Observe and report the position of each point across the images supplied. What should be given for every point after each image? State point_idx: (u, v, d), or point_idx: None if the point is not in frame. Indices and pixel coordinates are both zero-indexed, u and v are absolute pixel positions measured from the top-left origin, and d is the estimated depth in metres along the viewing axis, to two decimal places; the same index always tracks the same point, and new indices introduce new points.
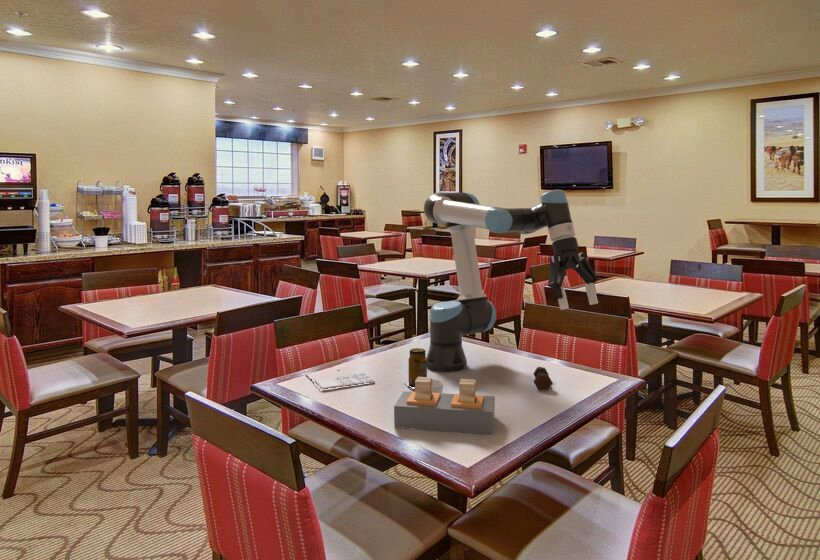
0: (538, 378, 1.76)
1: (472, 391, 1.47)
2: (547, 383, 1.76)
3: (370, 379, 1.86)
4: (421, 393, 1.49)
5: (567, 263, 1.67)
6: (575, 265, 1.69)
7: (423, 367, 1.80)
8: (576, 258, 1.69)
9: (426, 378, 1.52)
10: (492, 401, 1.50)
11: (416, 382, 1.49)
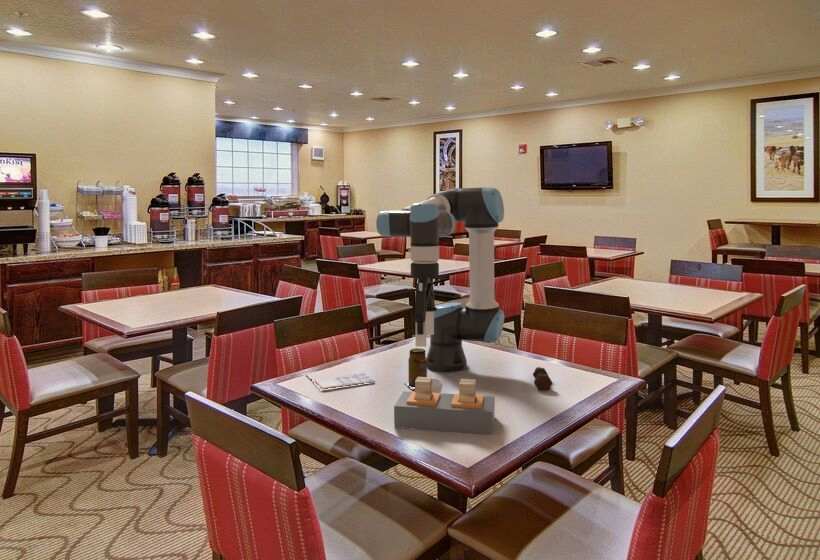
0: (538, 378, 1.76)
1: (472, 391, 1.47)
2: (547, 384, 1.76)
3: (370, 379, 1.86)
4: (421, 393, 1.49)
5: None
6: None
7: (423, 367, 1.80)
8: None
9: (426, 378, 1.52)
10: (492, 401, 1.50)
11: (416, 382, 1.49)
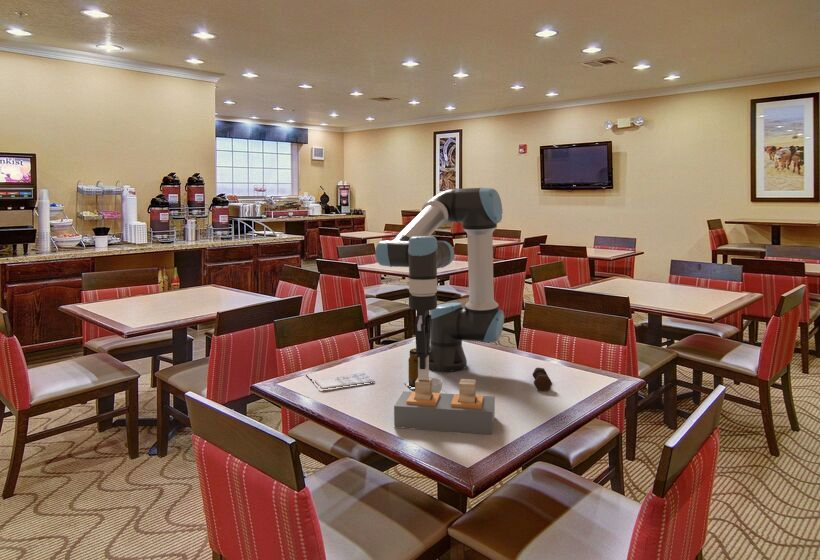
0: (538, 379, 1.75)
1: (472, 391, 1.47)
2: (547, 384, 1.75)
3: (370, 379, 1.86)
4: (421, 394, 1.49)
5: None
6: None
7: None
8: None
9: None
10: (492, 401, 1.50)
11: (416, 383, 1.49)
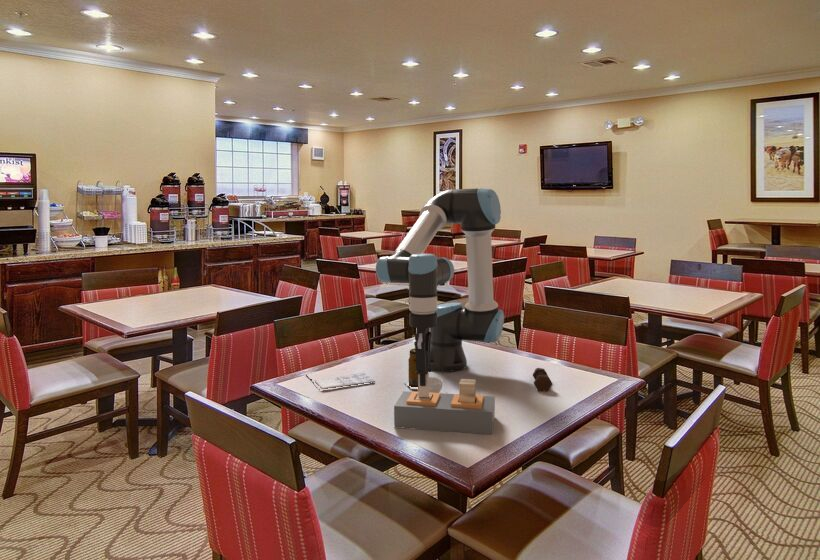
0: (538, 379, 1.75)
1: (472, 391, 1.47)
2: (547, 384, 1.75)
3: (370, 379, 1.86)
4: None
5: None
6: None
7: None
8: None
9: None
10: (492, 401, 1.50)
11: None
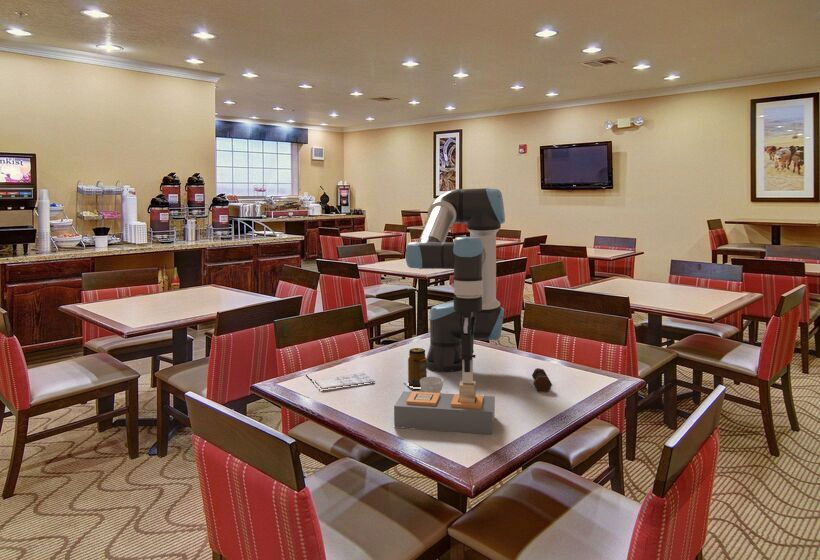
0: (538, 380, 1.75)
1: (472, 393, 1.47)
2: (547, 385, 1.74)
3: (370, 379, 1.86)
4: None
5: None
6: None
7: (422, 367, 1.80)
8: (459, 321, 1.45)
9: (426, 396, 1.52)
10: (492, 401, 1.50)
11: None
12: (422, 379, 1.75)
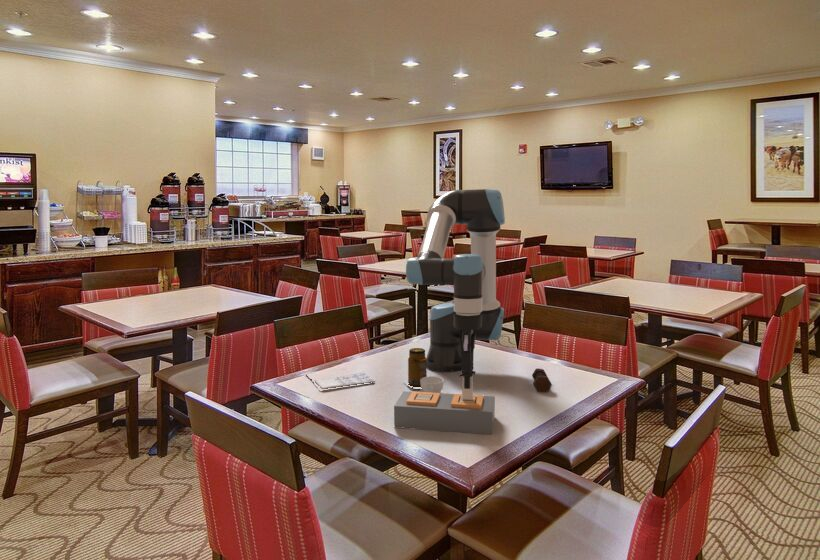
0: (537, 380, 1.75)
1: None
2: (547, 385, 1.74)
3: (370, 379, 1.86)
4: None
5: None
6: None
7: (422, 367, 1.80)
8: (459, 338, 1.46)
9: (426, 396, 1.52)
10: (492, 401, 1.50)
11: None
12: (422, 379, 1.76)
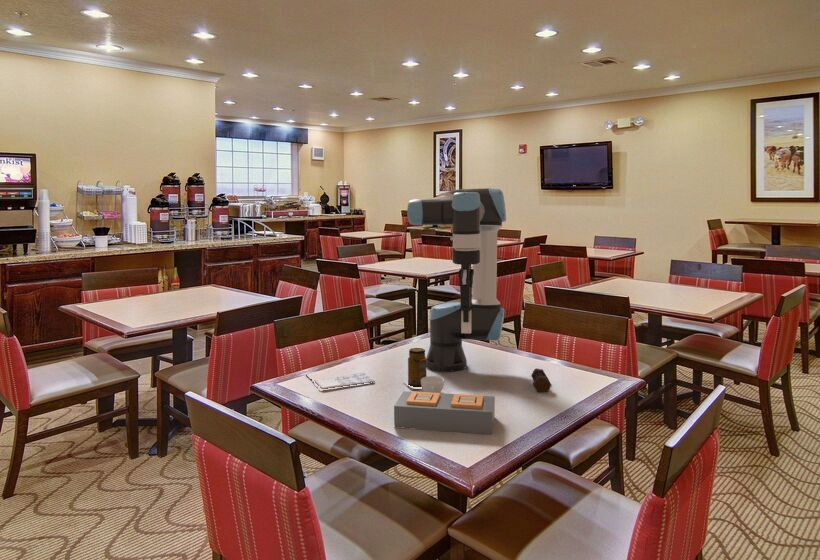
0: (537, 380, 1.74)
1: None
2: (546, 385, 1.74)
3: (370, 379, 1.86)
4: None
5: None
6: None
7: (422, 366, 1.80)
8: None
9: (426, 396, 1.52)
10: (492, 401, 1.50)
11: None
12: (423, 379, 1.76)
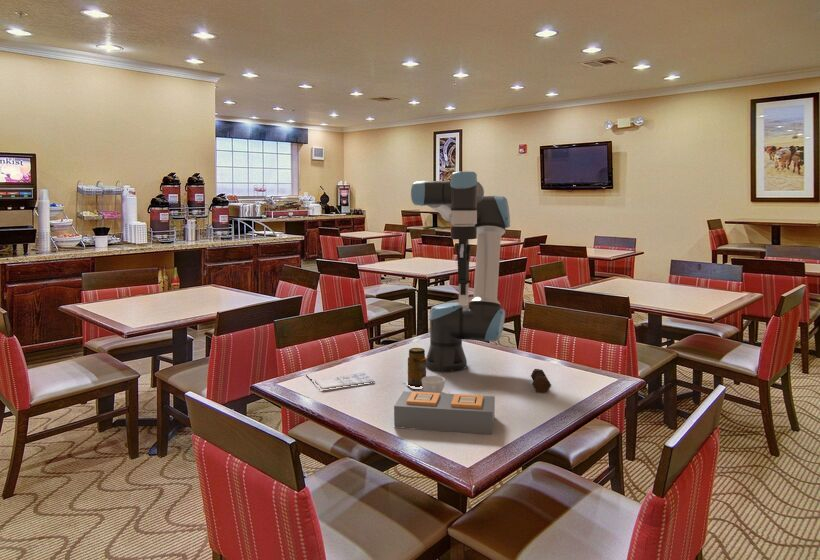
0: (537, 380, 1.74)
1: None
2: (546, 386, 1.74)
3: (370, 379, 1.86)
4: None
5: None
6: None
7: (422, 366, 1.80)
8: None
9: (426, 396, 1.52)
10: (492, 401, 1.50)
11: None
12: (424, 378, 1.76)
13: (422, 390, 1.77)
